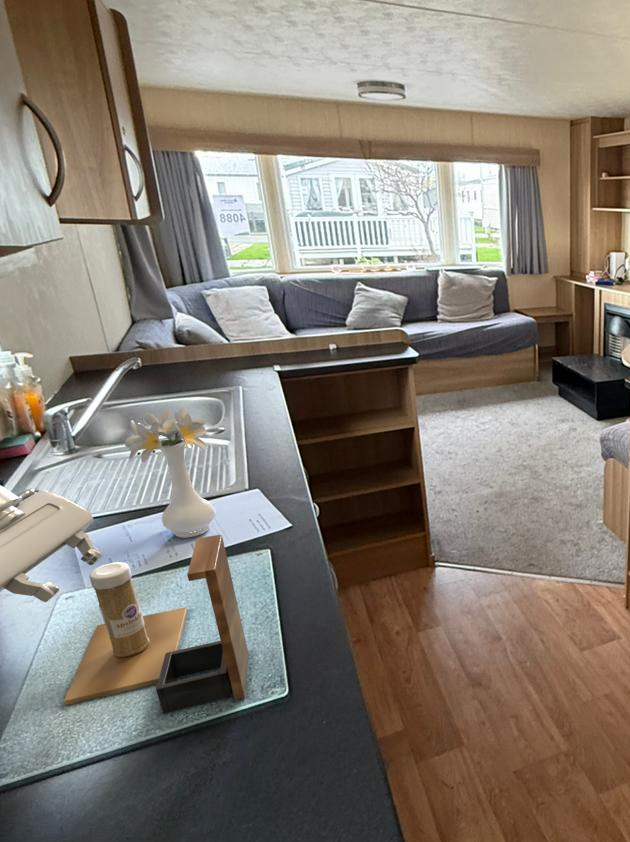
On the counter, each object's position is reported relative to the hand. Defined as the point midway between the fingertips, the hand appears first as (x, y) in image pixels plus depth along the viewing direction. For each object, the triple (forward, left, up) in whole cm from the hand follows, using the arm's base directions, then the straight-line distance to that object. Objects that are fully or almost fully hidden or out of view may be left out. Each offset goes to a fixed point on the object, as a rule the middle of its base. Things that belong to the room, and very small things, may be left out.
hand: (76, 577), depth 91 cm
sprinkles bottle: (+4, -1, -13) cm, 13 cm away
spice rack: (+14, -13, -13) cm, 23 cm away
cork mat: (+4, -1, -13) cm, 14 cm away
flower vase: (+7, +40, -14) cm, 43 cm away
